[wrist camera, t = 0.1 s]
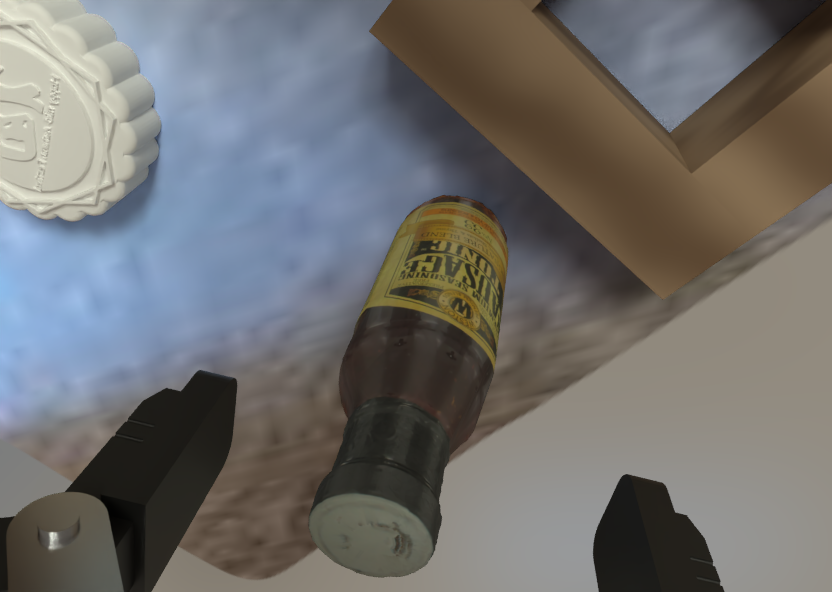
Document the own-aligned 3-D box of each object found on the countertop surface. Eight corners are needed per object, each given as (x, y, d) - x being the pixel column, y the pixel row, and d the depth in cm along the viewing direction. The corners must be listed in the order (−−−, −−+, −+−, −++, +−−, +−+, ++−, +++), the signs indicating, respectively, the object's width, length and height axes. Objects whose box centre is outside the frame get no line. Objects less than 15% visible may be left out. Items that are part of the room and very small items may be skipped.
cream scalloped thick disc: (-44, -71, 31) (-106, -64, 28) (188, 56, 32) (153, 74, 29) (-55, 138, 37) (-106, 161, 34) (138, 233, 39) (106, 263, 36)
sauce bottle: (532, 228, 35) (535, 549, 18) (466, 303, 38) (420, 630, 22) (432, 162, 33) (340, 443, 17) (373, 245, 37) (249, 546, 20)
